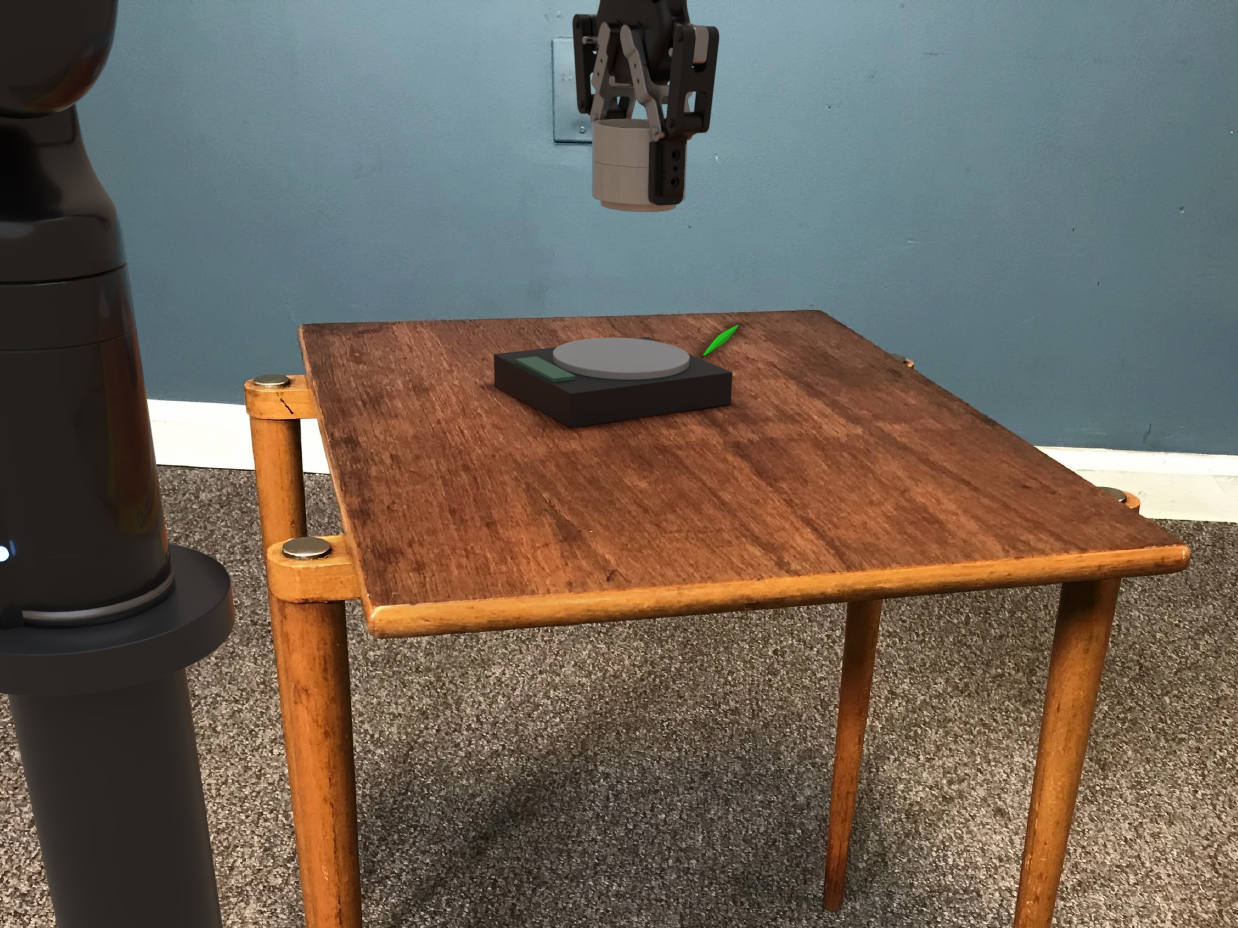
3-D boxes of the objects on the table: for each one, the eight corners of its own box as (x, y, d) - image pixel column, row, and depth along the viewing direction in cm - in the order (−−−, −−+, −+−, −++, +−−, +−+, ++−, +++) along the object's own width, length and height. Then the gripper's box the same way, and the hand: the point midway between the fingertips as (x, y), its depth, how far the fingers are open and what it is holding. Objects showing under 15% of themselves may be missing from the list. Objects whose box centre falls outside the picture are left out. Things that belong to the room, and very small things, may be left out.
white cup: (621, 215, 85) (623, 130, 83) (576, 201, 90) (576, 119, 87) (701, 210, 88) (705, 127, 86) (653, 196, 92) (655, 117, 90)
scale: (570, 428, 96) (570, 385, 95) (494, 386, 105) (493, 346, 104) (730, 404, 103) (733, 364, 102) (647, 366, 112) (648, 329, 111)
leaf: (744, 328, 127) (744, 320, 127) (705, 363, 115) (706, 354, 115) (734, 327, 128) (735, 319, 127) (695, 362, 116) (695, 352, 115)
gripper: (532, -103, 84) (536, 183, 92) (653, -106, 74) (646, 217, 81) (636, -96, 88) (632, 178, 96) (766, -98, 77) (749, 210, 85)
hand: (638, 195), depth 89 cm, fingers closed on white cup, 6 cm apart
